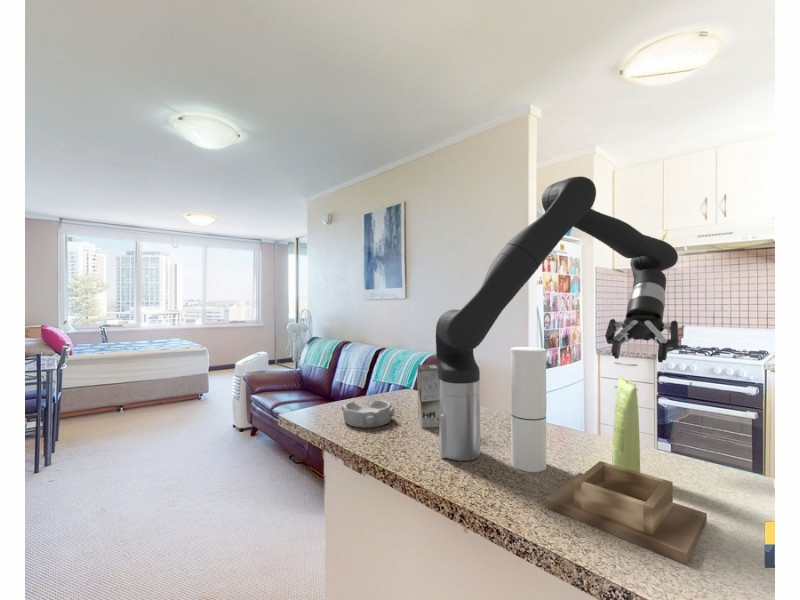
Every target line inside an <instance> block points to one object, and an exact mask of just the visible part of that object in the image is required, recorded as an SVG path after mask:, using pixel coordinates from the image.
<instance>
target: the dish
mask: <svg viewBox="0 0 800 600" xmlns="http://www.w3.org/2000/svg"><path fill="white" fill-rule="evenodd" d="M341 410H342V413H343V414H342V415H343V420H344V422H345V423H346V424H347V425H349V426H350V427H351V426H352V427H356V428H366V429H367V428H376V427H377V428H378V427H380V426H384V425H387V424H389V423H390V422H391V421H392V417H394V416H395V409H394V407H392V405H391V403H390V402H389V401H386V400H384V399H383V400H382V399H374V401H373V402H372V403H371V404H370V405H369V406H367V407H360V406H359V405H358V404H357V403H355V402H354V401H349V402H346V403H345V404H342V405H341Z"/></svg>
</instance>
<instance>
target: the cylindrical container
mask: <svg viewBox="0 0 800 600" xmlns="http://www.w3.org/2000/svg"><path fill="white" fill-rule="evenodd" d="M546 353H547V350H546V349H545V348H543V347H536V346H535V347H533V346H514V347H510V418H511V419H510V420H511V421H510V422H511V423H510V431H511V432H510V435H511V437H510V438H511V439H510V440H511V450H510V451H511V456H510V457H511V465H512V467H514V468H515V469H517V470H520V471H522V472H528V473H539V472H543V471H545V470H546V469H547V375H546V374H547V372H546V371H547V363H546V362H547V361H546V360H547V356H546V355H547V354H546Z"/></svg>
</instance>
